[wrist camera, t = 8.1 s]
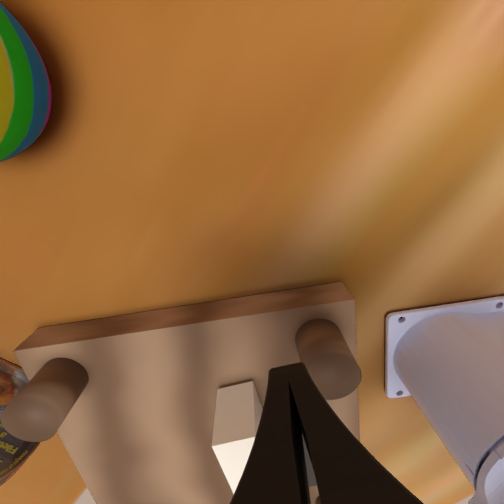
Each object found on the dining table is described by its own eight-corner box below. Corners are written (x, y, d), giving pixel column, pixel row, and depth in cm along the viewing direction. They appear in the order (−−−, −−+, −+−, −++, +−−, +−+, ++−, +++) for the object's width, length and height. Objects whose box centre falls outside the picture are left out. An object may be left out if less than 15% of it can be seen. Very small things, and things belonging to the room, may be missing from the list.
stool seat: (341, 281, 20) (379, 333, 15) (352, 483, 28) (380, 569, 22) (38, 327, 21) (-37, 395, 15) (130, 514, 28) (102, 604, 23)
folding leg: (301, 508, 25) (312, 574, 21) (265, 516, 25) (269, 582, 21) (257, 379, 20) (261, 435, 16) (212, 390, 20) (205, 447, 16)
